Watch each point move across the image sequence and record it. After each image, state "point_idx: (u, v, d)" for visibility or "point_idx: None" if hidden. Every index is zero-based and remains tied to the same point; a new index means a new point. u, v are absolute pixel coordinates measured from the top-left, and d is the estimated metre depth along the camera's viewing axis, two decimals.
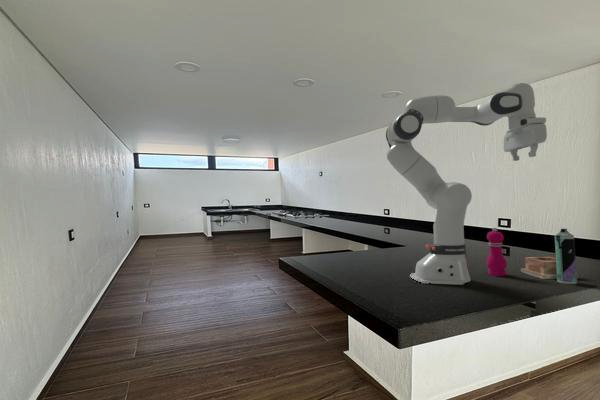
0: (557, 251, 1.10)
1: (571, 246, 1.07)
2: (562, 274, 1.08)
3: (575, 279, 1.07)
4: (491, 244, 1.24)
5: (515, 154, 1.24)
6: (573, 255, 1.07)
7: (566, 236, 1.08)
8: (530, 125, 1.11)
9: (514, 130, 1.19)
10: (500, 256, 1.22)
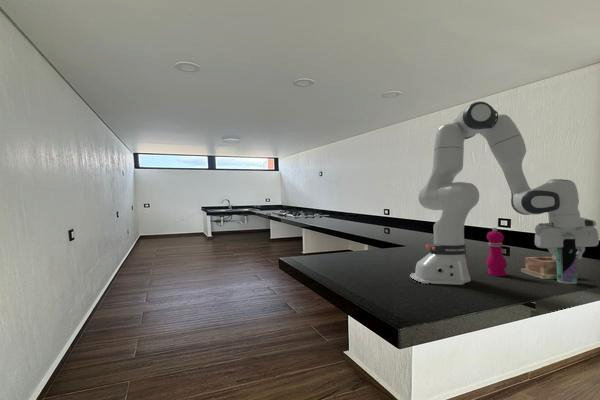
0: (558, 251, 1.10)
1: (572, 246, 1.07)
2: (562, 274, 1.08)
3: (575, 279, 1.07)
4: (491, 244, 1.24)
5: None
6: (573, 255, 1.07)
7: (567, 236, 1.07)
8: (594, 228, 1.07)
9: (572, 228, 1.07)
10: (500, 256, 1.22)
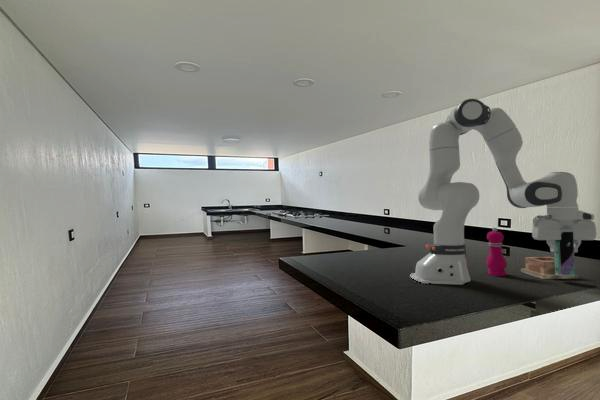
0: (555, 244, 1.10)
1: (569, 239, 1.07)
2: (560, 267, 1.08)
3: (573, 272, 1.07)
4: (491, 244, 1.24)
5: None
6: (571, 248, 1.07)
7: (565, 229, 1.08)
8: (592, 221, 1.07)
9: (569, 221, 1.07)
10: (500, 256, 1.22)
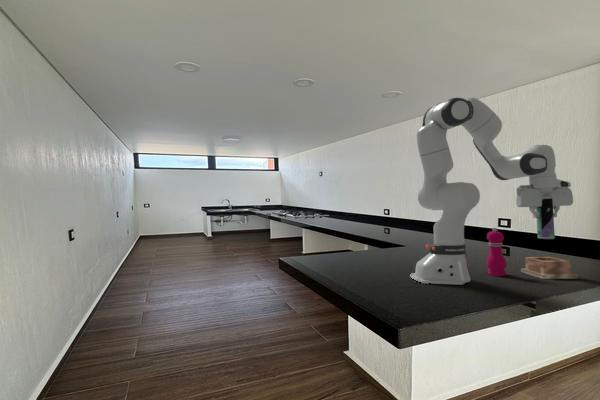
0: (537, 210, 1.22)
1: (549, 205, 1.19)
2: (541, 230, 1.21)
3: (553, 234, 1.19)
4: (491, 244, 1.24)
5: None
6: (551, 213, 1.19)
7: (545, 196, 1.20)
8: (569, 189, 1.19)
9: (549, 189, 1.19)
10: (500, 256, 1.22)
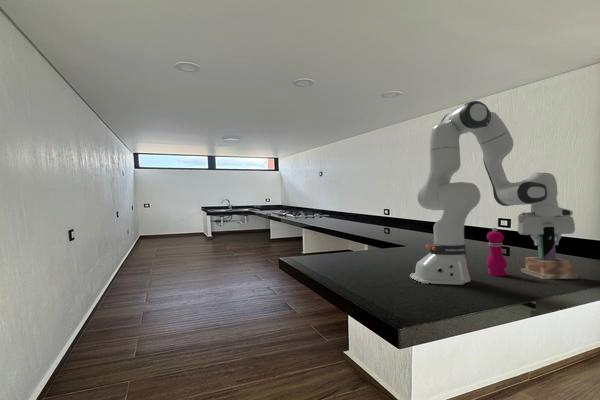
0: (539, 238, 1.22)
1: (551, 233, 1.19)
2: (542, 258, 1.20)
3: None
4: (491, 244, 1.24)
5: None
6: (553, 241, 1.19)
7: (546, 224, 1.19)
8: (571, 217, 1.19)
9: (550, 217, 1.19)
10: (500, 256, 1.22)
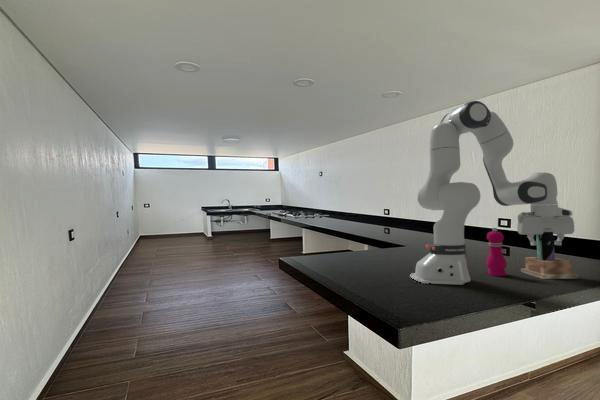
0: (538, 243, 1.22)
1: (550, 238, 1.19)
2: None
3: None
4: (491, 244, 1.24)
5: None
6: (552, 246, 1.19)
7: (545, 229, 1.20)
8: (570, 217, 1.19)
9: (550, 217, 1.19)
10: (500, 256, 1.22)
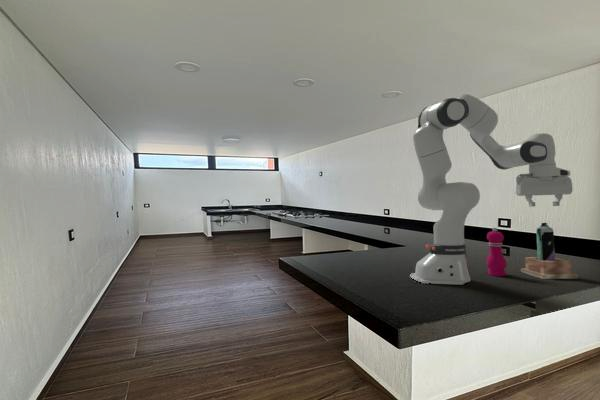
0: (538, 243, 1.22)
1: (550, 238, 1.19)
2: None
3: None
4: (491, 244, 1.24)
5: None
6: (552, 246, 1.19)
7: (546, 229, 1.19)
8: (568, 177, 1.19)
9: (548, 177, 1.19)
10: (500, 256, 1.22)
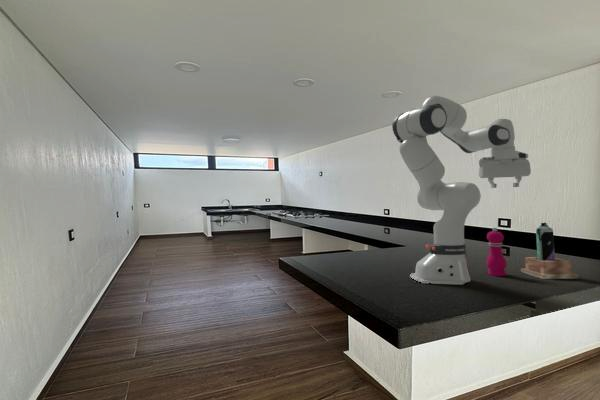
0: (538, 243, 1.22)
1: (550, 238, 1.19)
2: None
3: None
4: (491, 244, 1.24)
5: None
6: (552, 246, 1.19)
7: (545, 229, 1.20)
8: (527, 160, 1.27)
9: (508, 160, 1.27)
10: (500, 256, 1.22)
